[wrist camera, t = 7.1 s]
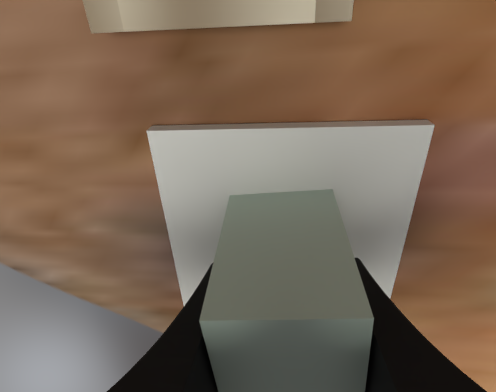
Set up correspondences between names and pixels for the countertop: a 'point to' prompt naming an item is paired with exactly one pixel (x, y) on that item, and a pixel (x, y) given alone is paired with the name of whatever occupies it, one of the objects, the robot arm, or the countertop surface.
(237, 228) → the block
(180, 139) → the plate
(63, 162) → the countertop surface
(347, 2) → the holder
